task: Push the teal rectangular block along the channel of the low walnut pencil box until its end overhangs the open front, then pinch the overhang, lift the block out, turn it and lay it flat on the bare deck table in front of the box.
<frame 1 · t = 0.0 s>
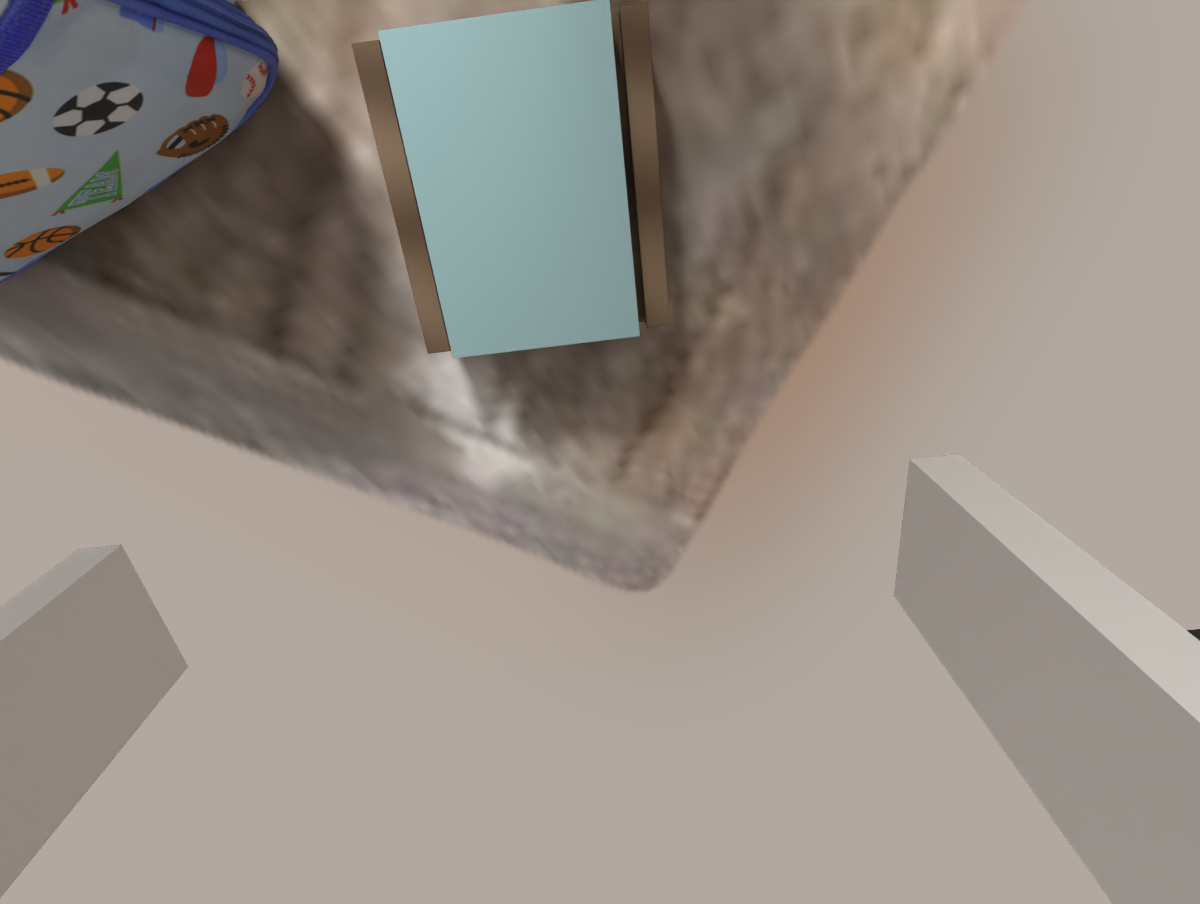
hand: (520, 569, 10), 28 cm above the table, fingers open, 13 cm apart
lunch box: (72, 129, 32), on the table
pencil box: (534, 193, 33), on the table
teal rectangular block: (528, 196, 30), point 4 cm above the table, touching pencil box
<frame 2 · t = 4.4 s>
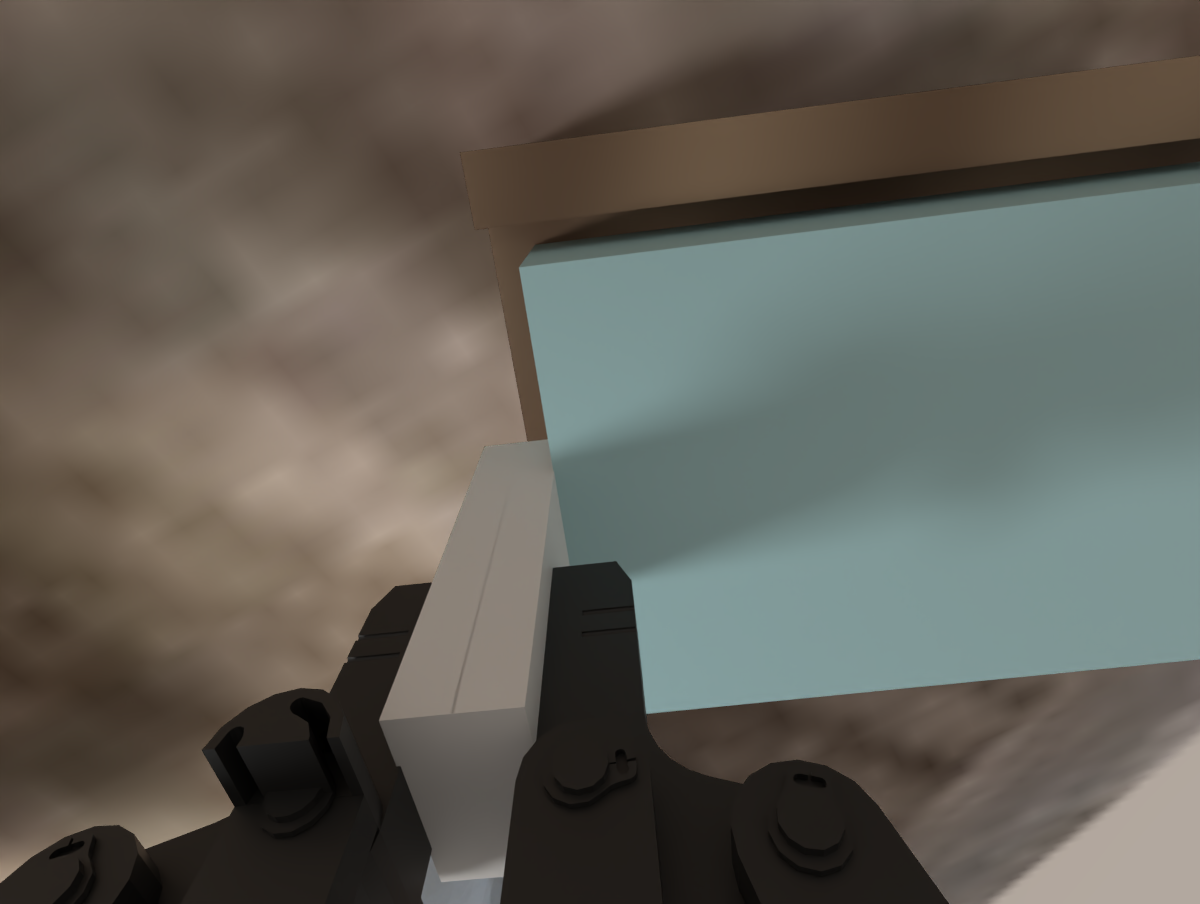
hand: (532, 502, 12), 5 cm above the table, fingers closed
lunch box: (646, 890, 27), on the table
pencil box: (789, 381, 17), on the table
teal rectangular block: (875, 428, 14), point 4 cm above the table, touching gripper
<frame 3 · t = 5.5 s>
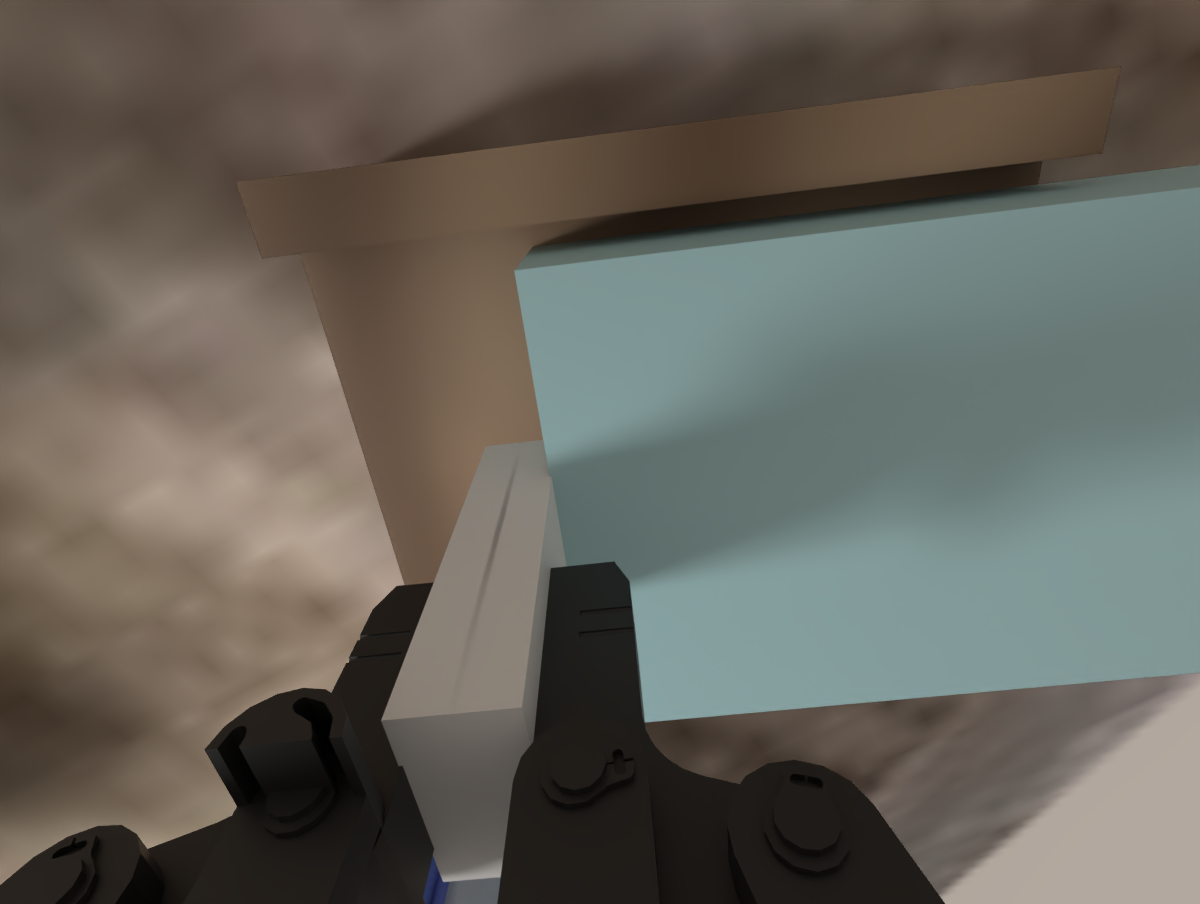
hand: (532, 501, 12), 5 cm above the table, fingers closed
lunch box: (568, 901, 27), on the table
pencil box: (661, 400, 17), on the table
teal rectangular block: (879, 433, 13), point 4 cm above the table, touching gripper, pencil box
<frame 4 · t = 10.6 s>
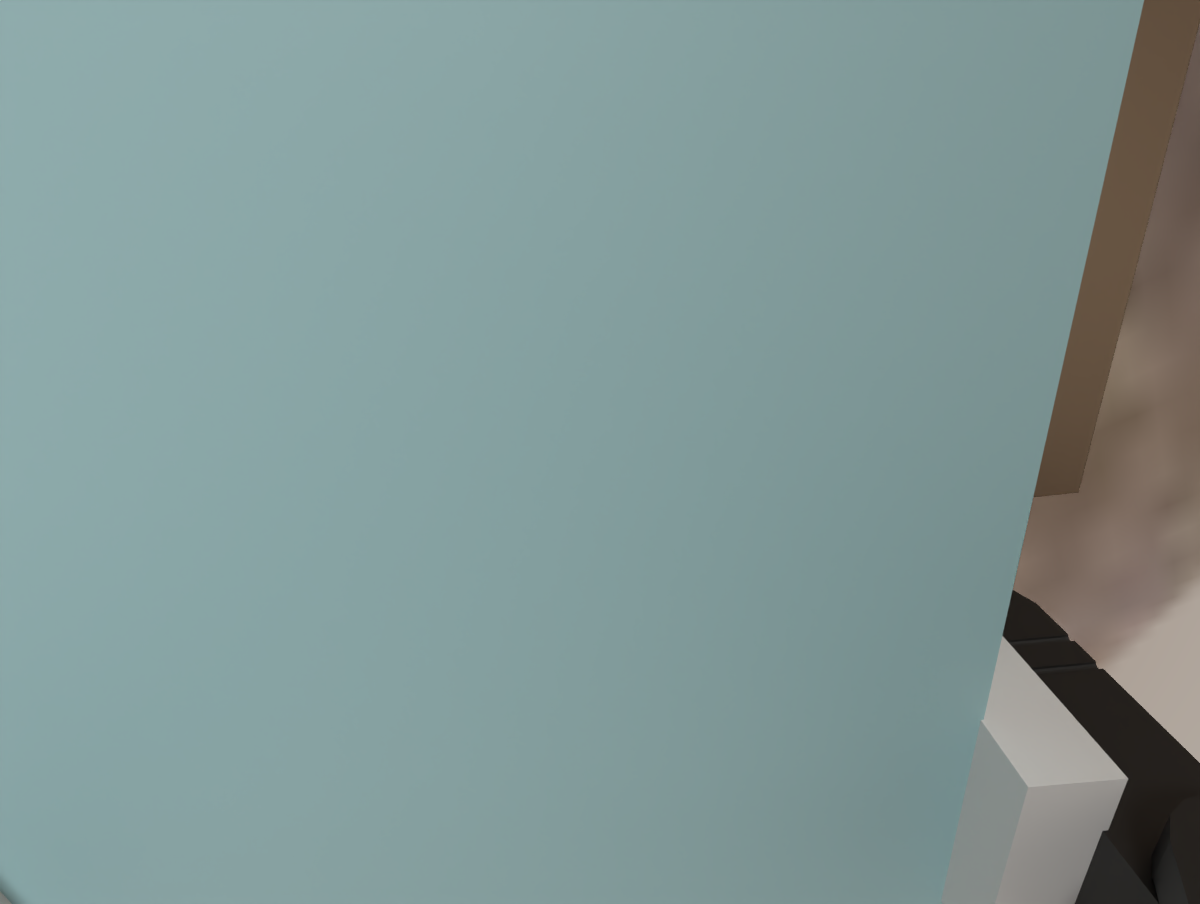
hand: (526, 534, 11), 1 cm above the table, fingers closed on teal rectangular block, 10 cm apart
teal rectangular block: (425, 301, 7), point 4 cm above the table, touching gripper, pencil box
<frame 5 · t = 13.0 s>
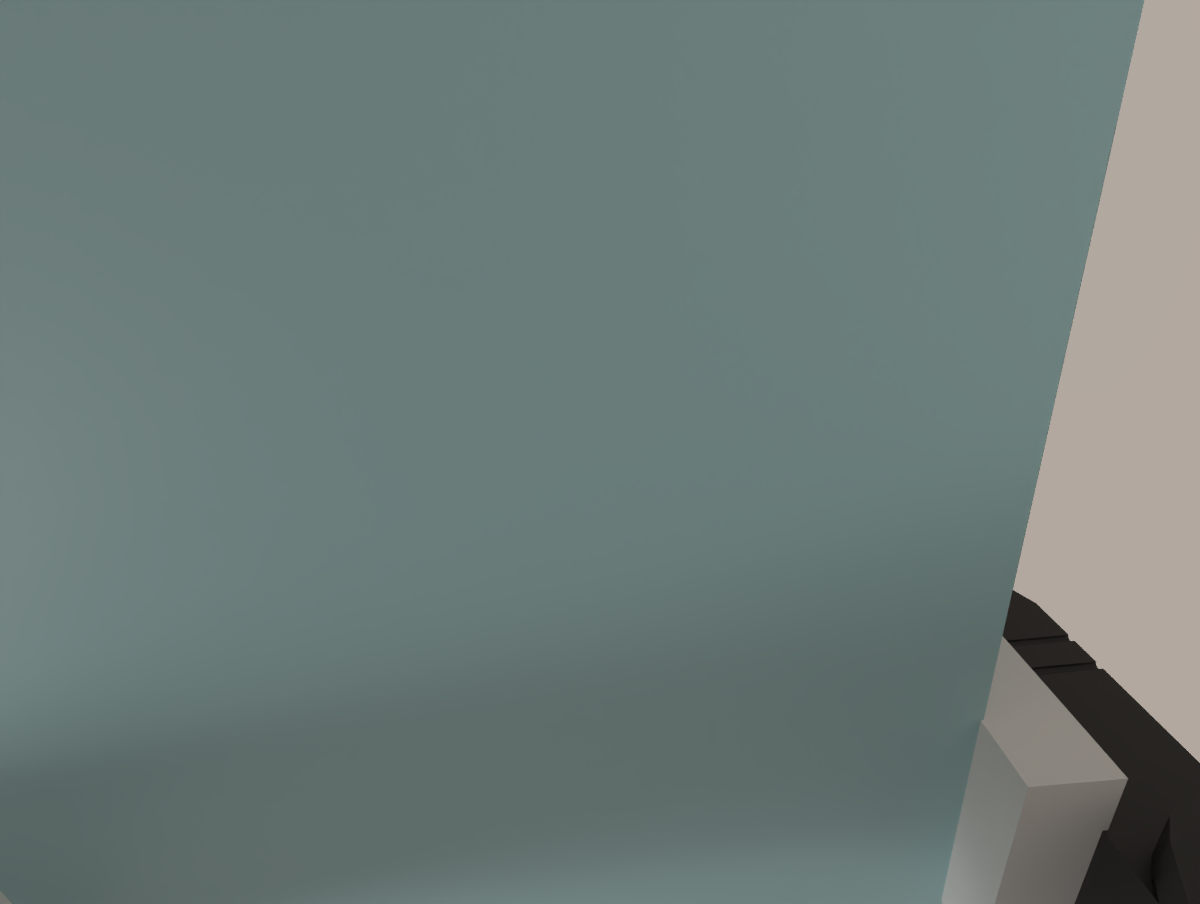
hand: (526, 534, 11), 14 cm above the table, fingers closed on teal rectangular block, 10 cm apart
teal rectangular block: (422, 286, 6), point 16 cm above the table, touching gripper
when the fingers open (0 cm above the table, at t = 15.3 s): teal rectangular block drops 4 cm, on the table.
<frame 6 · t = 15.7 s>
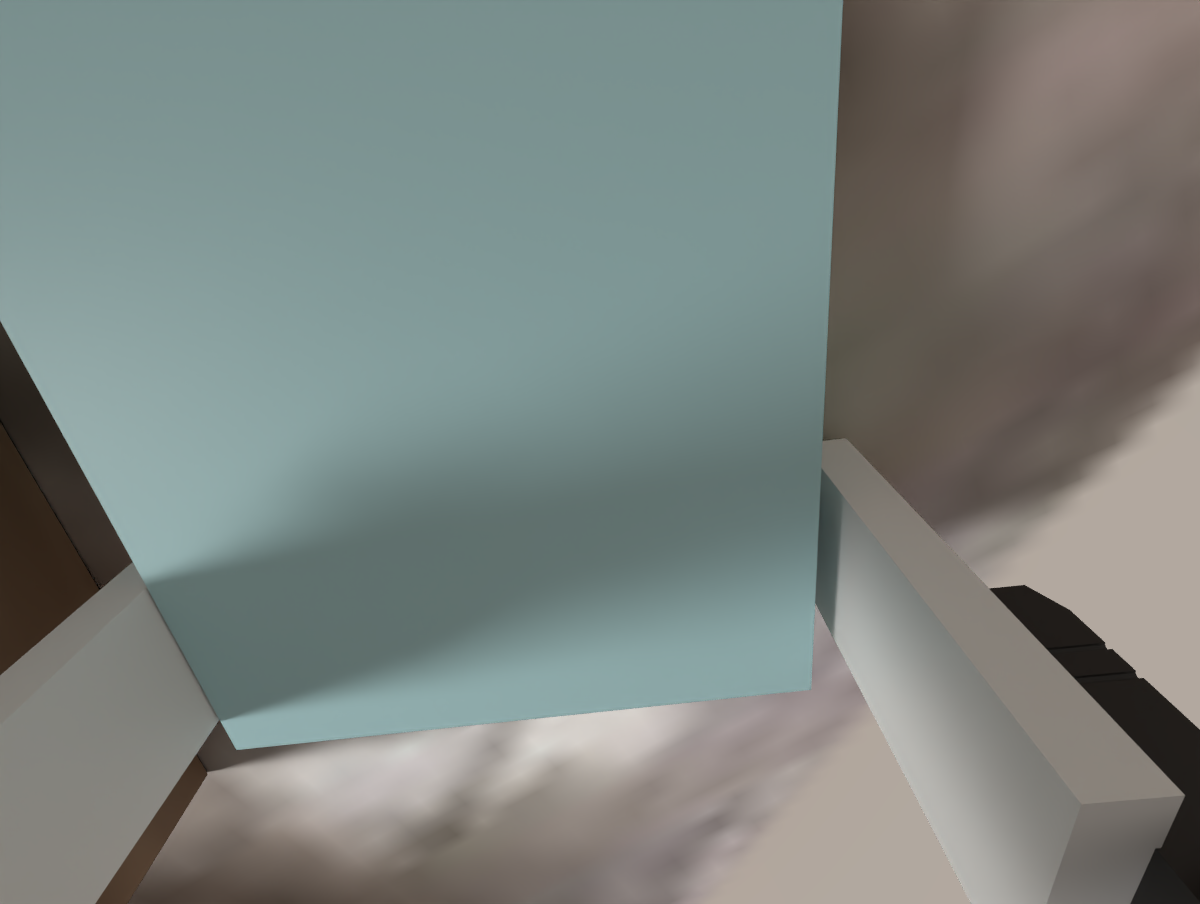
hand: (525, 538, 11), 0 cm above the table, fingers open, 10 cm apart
teal rectangular block: (461, 257, 10), on the table
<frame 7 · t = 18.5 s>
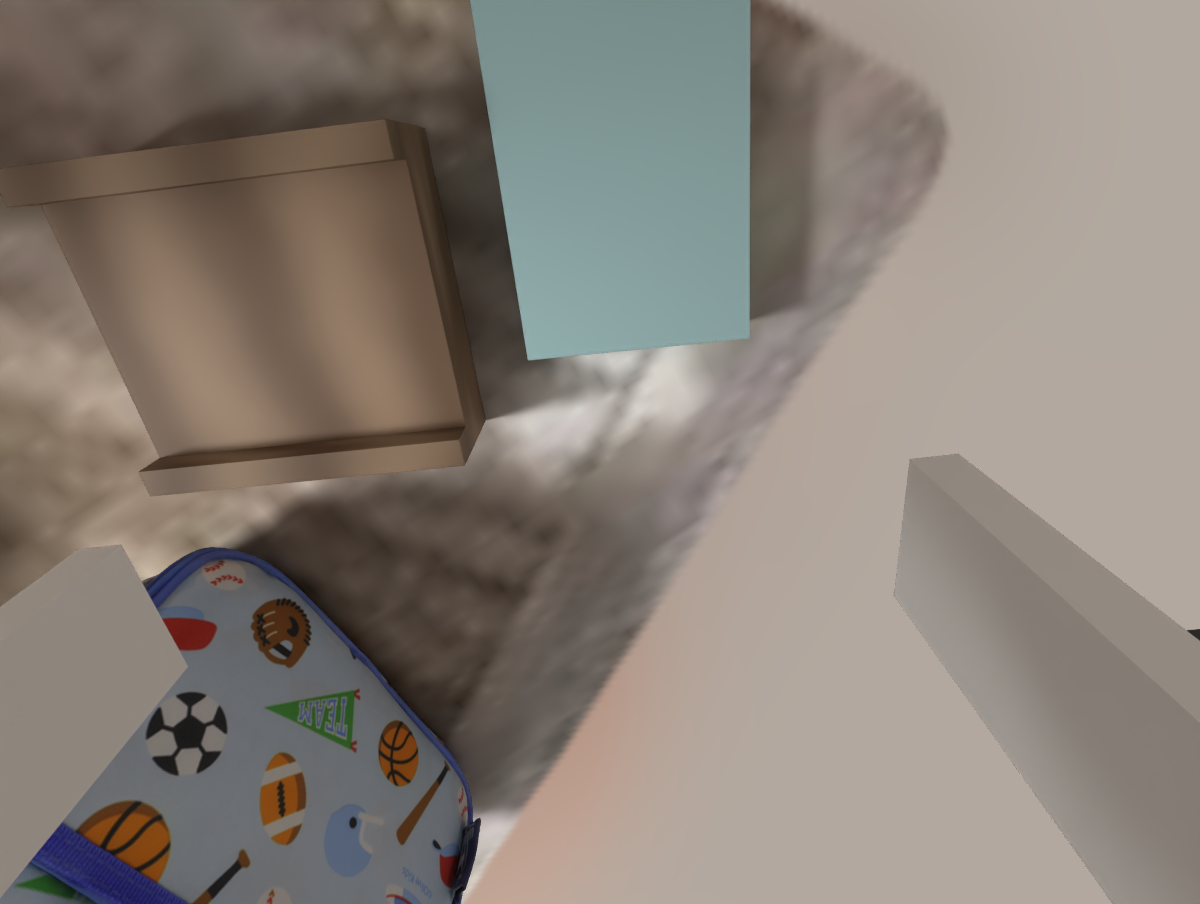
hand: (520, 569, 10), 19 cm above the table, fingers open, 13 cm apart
lunch box: (338, 691, 38), on the table
pencil box: (309, 306, 28), on the table
teal rectangular block: (621, 171, 26), on the table
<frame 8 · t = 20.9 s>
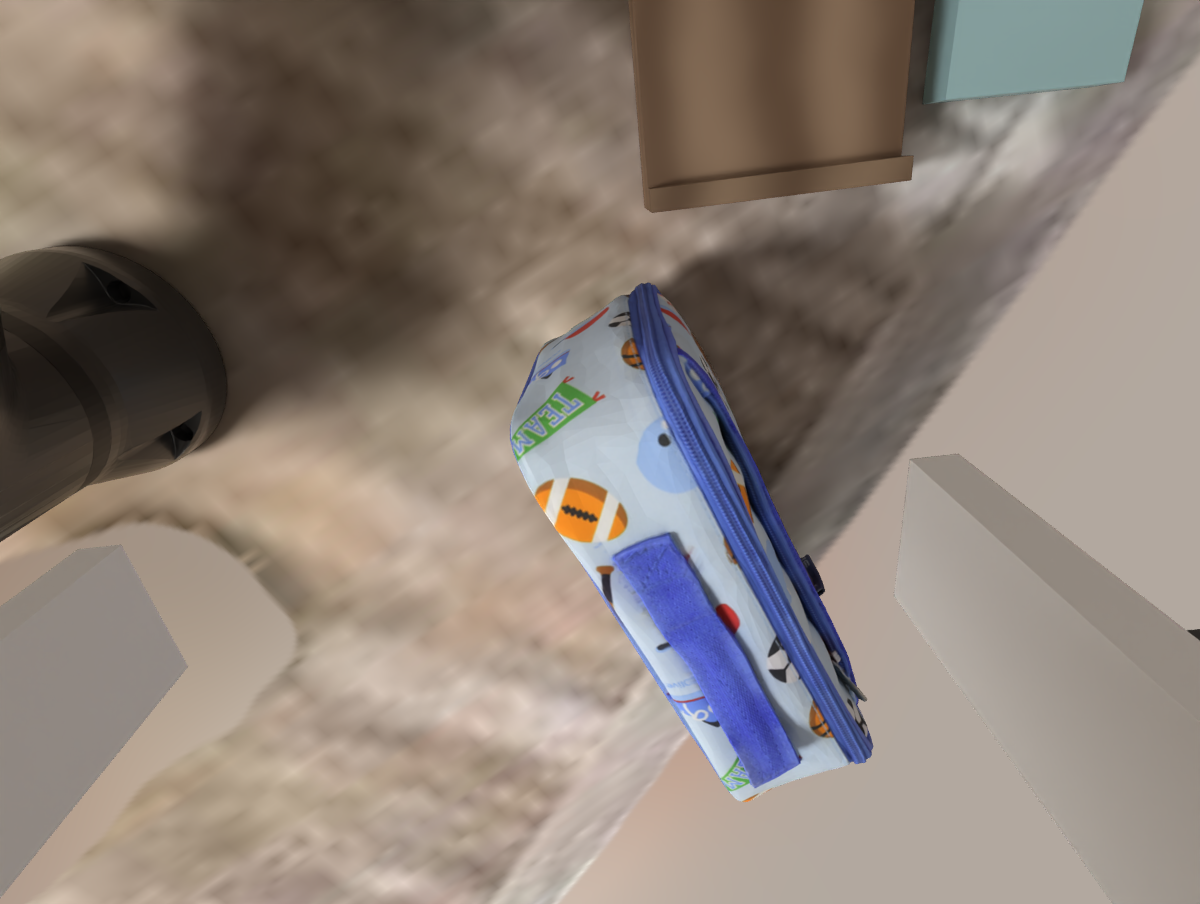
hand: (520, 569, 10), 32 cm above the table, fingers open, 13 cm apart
lunch box: (677, 455, 45), on the table
pencil box: (756, 70, 34), on the table
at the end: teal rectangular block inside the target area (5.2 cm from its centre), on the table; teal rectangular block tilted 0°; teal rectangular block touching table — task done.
